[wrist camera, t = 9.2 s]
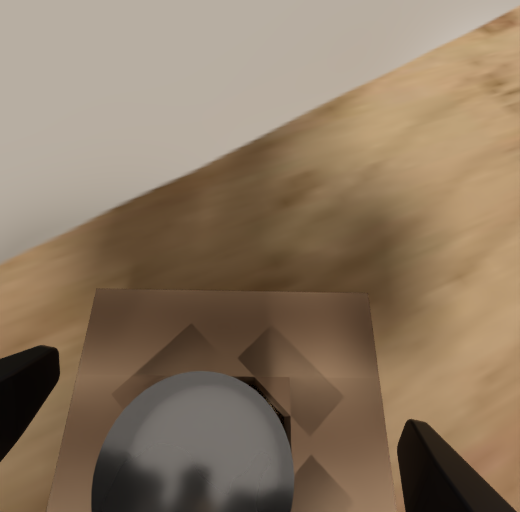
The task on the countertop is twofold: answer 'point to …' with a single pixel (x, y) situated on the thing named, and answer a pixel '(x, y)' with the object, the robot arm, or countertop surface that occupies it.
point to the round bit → (195, 451)
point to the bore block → (248, 371)
